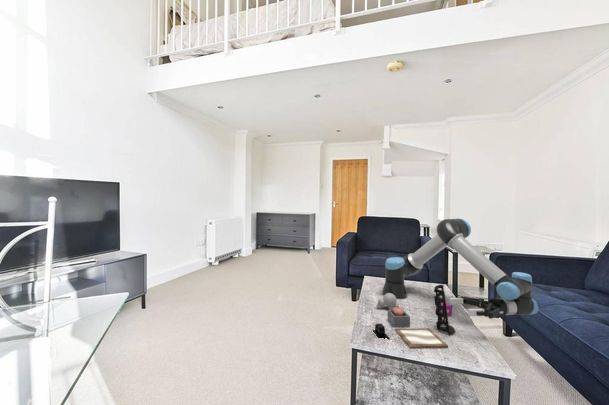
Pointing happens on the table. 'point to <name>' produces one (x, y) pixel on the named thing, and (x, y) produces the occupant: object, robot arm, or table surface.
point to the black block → (380, 331)
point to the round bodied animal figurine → (387, 301)
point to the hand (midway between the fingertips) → (458, 306)
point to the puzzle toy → (449, 309)
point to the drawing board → (421, 338)
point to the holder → (441, 321)
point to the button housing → (398, 319)
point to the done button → (398, 311)
